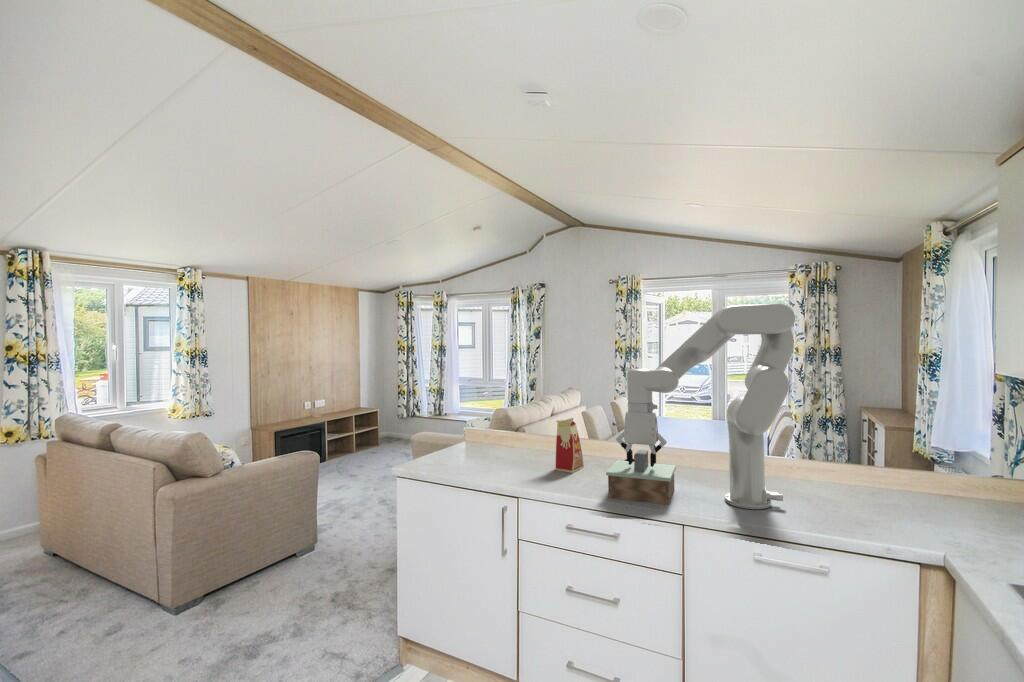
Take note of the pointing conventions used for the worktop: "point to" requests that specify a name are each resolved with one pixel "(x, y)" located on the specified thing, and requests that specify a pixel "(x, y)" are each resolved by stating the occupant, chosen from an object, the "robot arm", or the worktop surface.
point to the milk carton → (568, 447)
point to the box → (641, 489)
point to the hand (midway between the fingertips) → (641, 464)
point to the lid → (642, 468)
